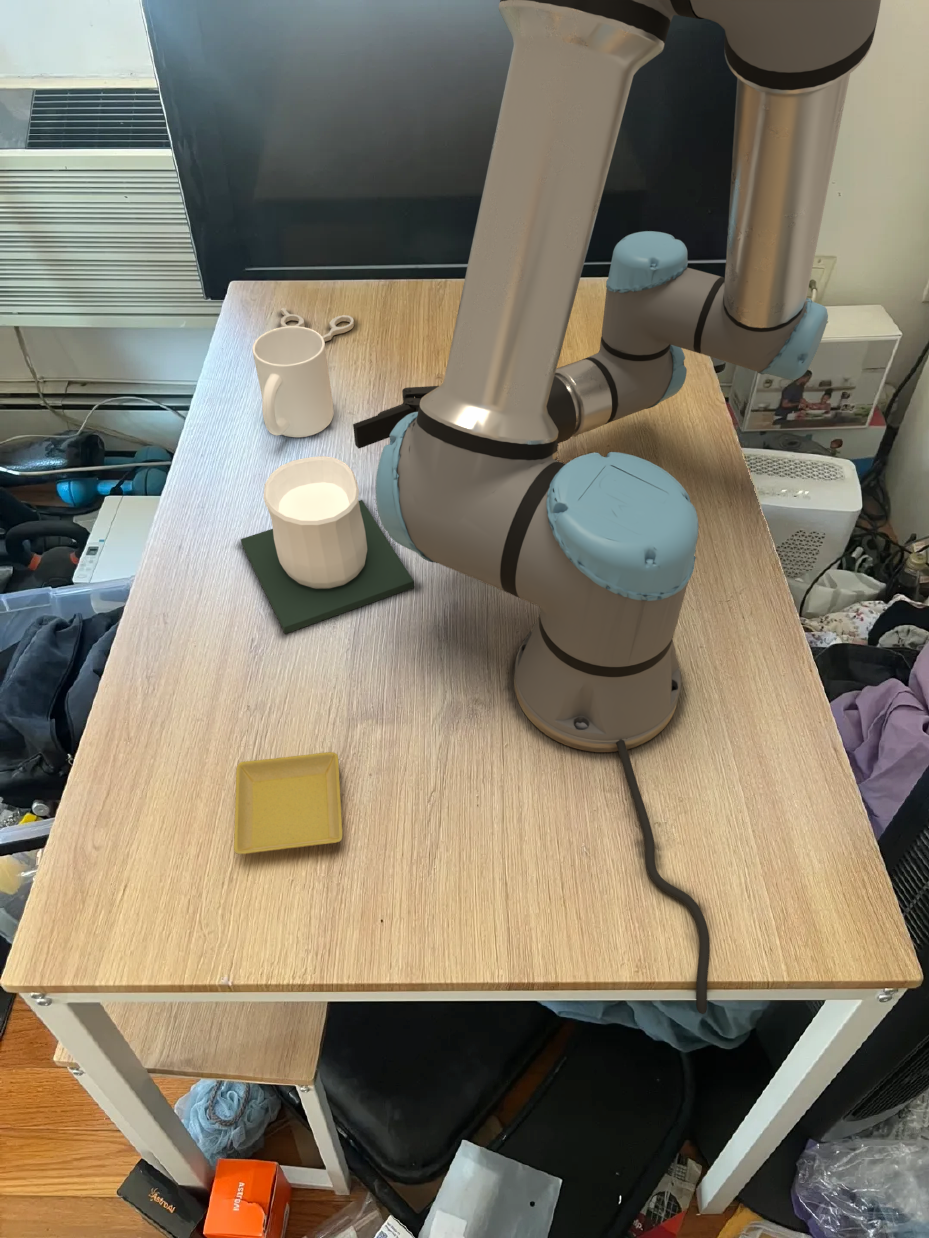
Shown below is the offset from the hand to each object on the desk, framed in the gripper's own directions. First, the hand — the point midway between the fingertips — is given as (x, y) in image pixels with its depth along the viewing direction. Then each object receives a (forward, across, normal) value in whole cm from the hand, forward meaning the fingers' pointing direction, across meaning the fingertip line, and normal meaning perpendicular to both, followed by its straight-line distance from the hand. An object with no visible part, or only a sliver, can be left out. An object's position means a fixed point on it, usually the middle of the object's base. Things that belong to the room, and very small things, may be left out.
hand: (386, 472), depth 91 cm
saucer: (+23, -25, -10) cm, 35 cm away
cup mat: (+8, 0, -9) cm, 12 cm away
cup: (+8, 0, -8) cm, 11 cm away
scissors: (-8, +38, -9) cm, 39 cm away
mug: (+1, +24, -10) cm, 25 cm away
